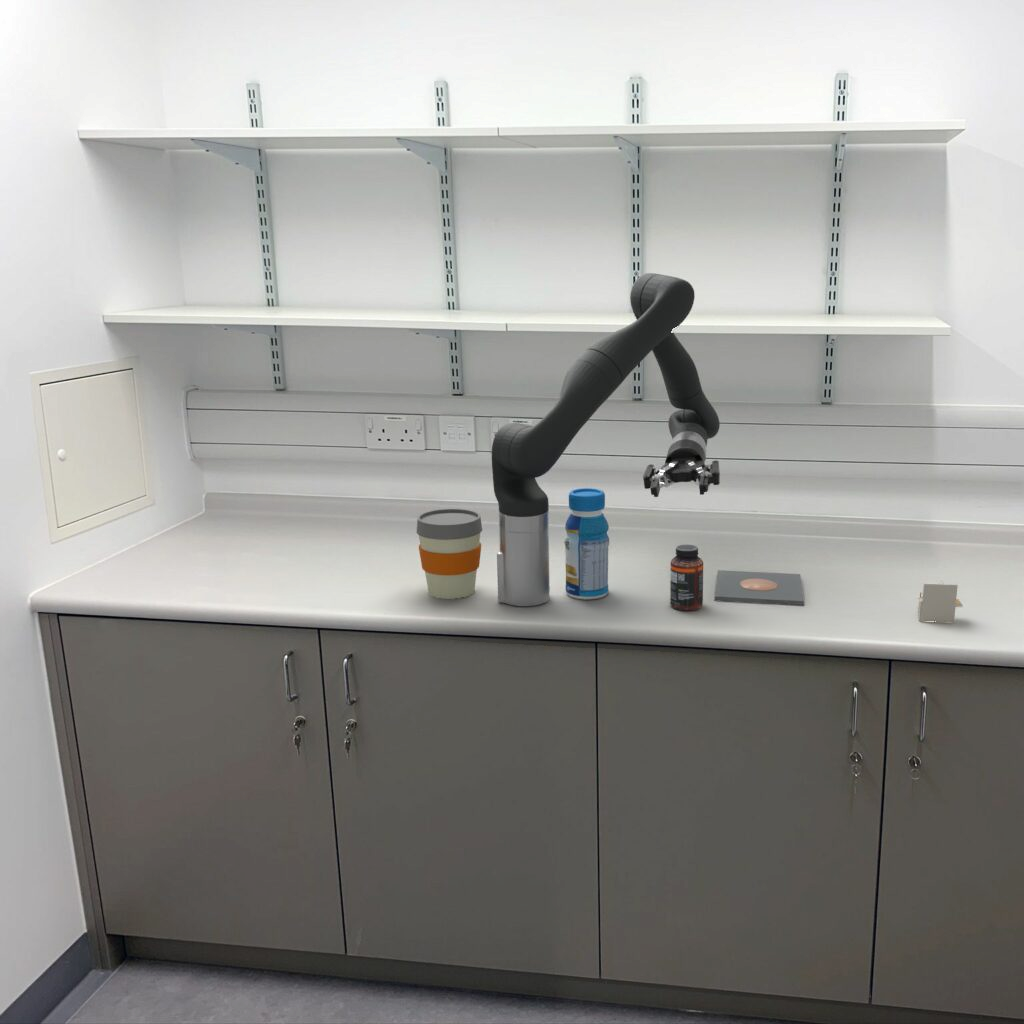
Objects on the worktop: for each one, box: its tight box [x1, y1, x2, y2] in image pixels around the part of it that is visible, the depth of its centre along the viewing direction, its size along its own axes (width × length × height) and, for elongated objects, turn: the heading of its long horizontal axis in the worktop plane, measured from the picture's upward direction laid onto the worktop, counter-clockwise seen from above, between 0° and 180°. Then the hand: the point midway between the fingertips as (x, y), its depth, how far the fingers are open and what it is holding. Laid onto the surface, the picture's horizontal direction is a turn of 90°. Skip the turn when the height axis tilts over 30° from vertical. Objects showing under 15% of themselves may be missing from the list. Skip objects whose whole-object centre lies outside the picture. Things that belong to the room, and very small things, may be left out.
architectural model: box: [916, 581, 963, 623], centre depth 183 cm, size 3×7×8 cm, turn 80°
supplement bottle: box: [669, 544, 704, 612], centre depth 191 cm, size 6×6×11 cm
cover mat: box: [714, 569, 805, 606], centre depth 201 cm, size 16×16×1 cm
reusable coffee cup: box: [416, 508, 483, 600], centre depth 201 cm, size 13×13×15 cm
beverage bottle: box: [563, 487, 610, 601], centre depth 198 cm, size 8×8×20 cm
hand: (678, 491), depth 195 cm, fingers open, 8 cm apart
